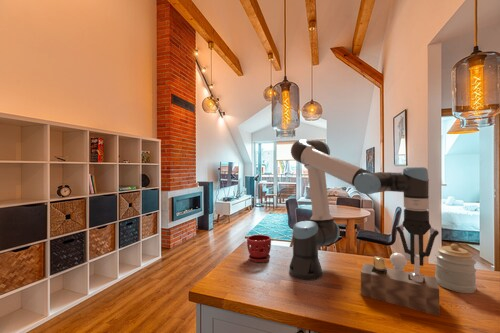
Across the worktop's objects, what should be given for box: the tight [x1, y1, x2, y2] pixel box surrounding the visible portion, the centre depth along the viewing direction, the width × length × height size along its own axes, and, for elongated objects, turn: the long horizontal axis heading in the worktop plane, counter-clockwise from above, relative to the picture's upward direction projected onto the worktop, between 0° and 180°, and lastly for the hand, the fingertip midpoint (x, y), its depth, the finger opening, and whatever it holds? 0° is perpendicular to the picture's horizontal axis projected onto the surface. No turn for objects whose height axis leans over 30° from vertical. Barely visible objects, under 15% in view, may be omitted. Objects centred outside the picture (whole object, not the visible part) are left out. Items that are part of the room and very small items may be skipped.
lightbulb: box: [389, 252, 408, 271], centre depth 105 cm, size 6×6×11 cm
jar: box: [434, 243, 477, 294], centre depth 98 cm, size 13×13×18 cm
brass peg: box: [372, 255, 387, 275], centre depth 92 cm, size 4×4×8 cm
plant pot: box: [246, 234, 272, 263], centre depth 127 cm, size 13×13×12 cm
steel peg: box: [409, 271, 424, 283], centre depth 85 cm, size 4×4×8 cm
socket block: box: [360, 262, 440, 317], centre depth 89 cm, size 24×10×9 cm, turn 57°
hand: (417, 273), depth 85 cm, fingers closed
